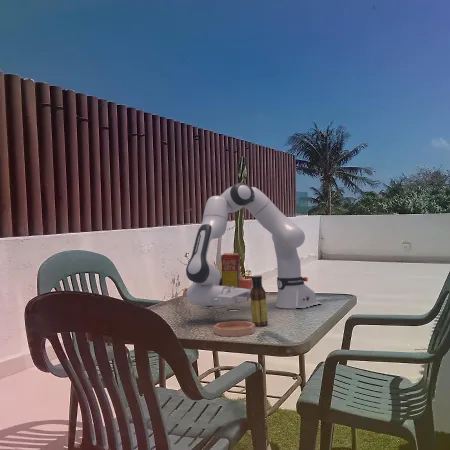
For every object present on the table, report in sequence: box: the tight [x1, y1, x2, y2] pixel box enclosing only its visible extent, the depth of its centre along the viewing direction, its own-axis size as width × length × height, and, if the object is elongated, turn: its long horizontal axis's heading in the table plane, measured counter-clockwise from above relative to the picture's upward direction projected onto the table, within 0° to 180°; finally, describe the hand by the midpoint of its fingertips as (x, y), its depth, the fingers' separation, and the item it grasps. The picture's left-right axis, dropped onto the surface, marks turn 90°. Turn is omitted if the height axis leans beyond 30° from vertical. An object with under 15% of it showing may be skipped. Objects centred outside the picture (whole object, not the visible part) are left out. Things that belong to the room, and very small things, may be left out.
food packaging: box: [220, 252, 242, 288], centre depth 256 cm, size 13×9×25 cm
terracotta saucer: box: [212, 320, 256, 337], centre depth 184 cm, size 15×15×2 cm
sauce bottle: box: [250, 274, 269, 327], centre depth 194 cm, size 6×6×20 cm
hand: (252, 297), depth 196 cm, fingers open, 8 cm apart
